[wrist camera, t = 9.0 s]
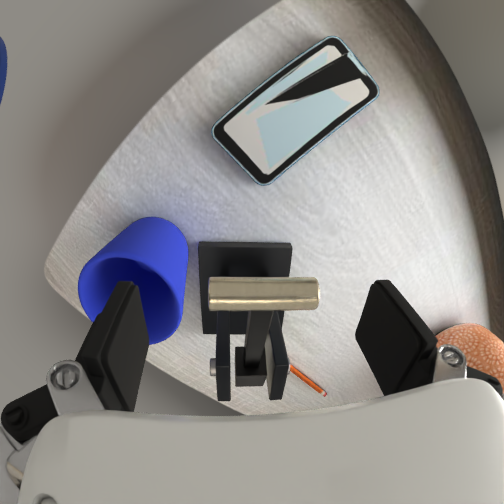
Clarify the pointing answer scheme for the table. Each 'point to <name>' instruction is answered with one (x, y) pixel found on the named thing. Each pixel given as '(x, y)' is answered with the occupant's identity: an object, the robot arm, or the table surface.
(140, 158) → the table surface
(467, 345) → the planter
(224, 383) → the bracket
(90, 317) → the mug
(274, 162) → the smartphone
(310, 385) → the pencil
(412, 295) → the table surface
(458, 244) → the table surface
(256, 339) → the lever
